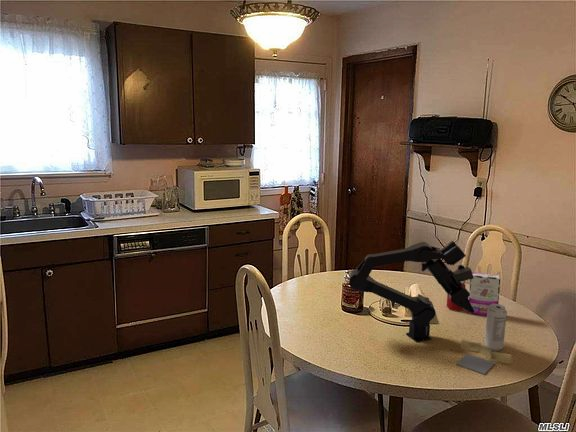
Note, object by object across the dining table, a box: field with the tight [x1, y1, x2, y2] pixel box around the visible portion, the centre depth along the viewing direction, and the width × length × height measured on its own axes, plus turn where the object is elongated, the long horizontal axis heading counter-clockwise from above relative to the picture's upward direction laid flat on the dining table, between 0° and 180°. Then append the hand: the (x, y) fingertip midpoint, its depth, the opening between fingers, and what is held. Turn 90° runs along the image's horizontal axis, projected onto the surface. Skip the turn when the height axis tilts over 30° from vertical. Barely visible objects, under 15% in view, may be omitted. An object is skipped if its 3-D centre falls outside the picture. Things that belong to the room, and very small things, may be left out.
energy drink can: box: [483, 303, 508, 352], centre depth 162 cm, size 6×6×15 cm
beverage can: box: [446, 281, 466, 312], centre depth 196 cm, size 7×7×12 cm
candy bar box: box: [467, 271, 502, 317], centre depth 191 cm, size 11×5×16 cm, turn 68°
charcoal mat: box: [455, 353, 496, 376], centre depth 152 cm, size 9×9×1 cm
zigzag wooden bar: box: [460, 339, 512, 366], centre depth 158 cm, size 16×4×3 cm, turn 48°
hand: (470, 307), depth 165 cm, fingers open, 9 cm apart
